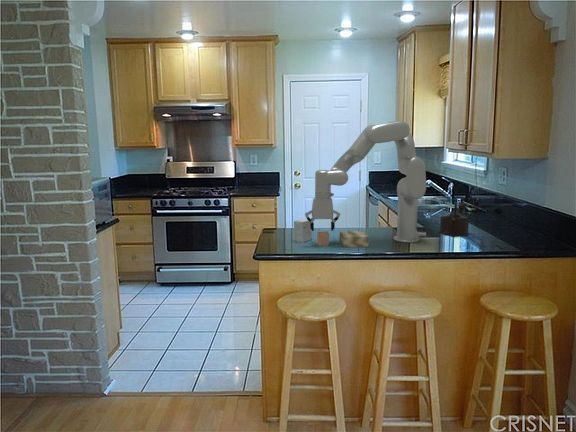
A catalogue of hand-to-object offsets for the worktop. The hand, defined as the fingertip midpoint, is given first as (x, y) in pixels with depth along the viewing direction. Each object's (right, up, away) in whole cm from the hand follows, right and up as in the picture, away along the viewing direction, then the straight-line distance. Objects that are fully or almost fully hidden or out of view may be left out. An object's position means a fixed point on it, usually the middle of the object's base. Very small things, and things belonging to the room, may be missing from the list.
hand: (322, 230), depth 225 cm
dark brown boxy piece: (+72, -3, +16) cm, 74 cm away
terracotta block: (0, -7, +1) cm, 7 cm away
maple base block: (+15, -7, +1) cm, 17 cm away
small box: (-9, -6, +11) cm, 15 cm away
